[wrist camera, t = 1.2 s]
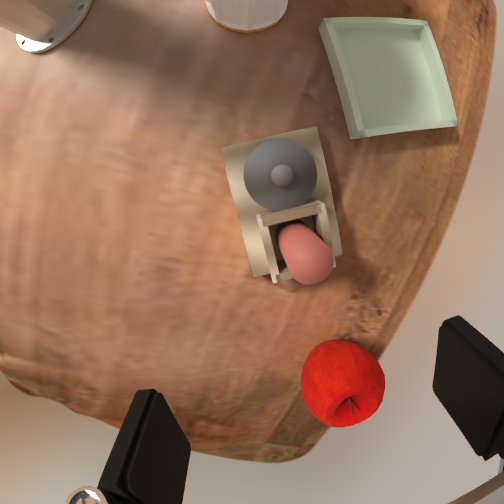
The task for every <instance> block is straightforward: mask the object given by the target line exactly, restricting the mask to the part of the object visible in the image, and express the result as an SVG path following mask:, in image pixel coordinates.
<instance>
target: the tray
mask: <svg viewBox="0 0 504 504" xmlns="http://www.w3.org/2000/svg"><path fill="white" fill-rule="evenodd" d="M318 30H319V33H320V36H321V38H322V41H323V44H324V47H325V50H326V53H327V56H328V60H329V63H330V66H331V69H332V73H333V76H334V79H335V83H336V86H337V90H338V93H339V97H340V101H341V104H342V108H343V112H344V116H345V120H346V124H347V128H348V132H349V136H350V140H351V139H358V138H364V137H370V136H377V135H384V134H391V133H398V132H406V131H414V130H423V129H432V128H443V127H454V126H458V123H457V118H456V114H455V109H454V105H453V101H452V97H451V93H450V89H449V85H448V82H447V78H446V75H445V71H444V68H443V65H442V61H441V58H440V55H439V52H438V49H437V46H436V44H435V41H434V38H433V35H432V33H431V30H430V28H429V25H428V23H427V21H425V20H416V19H404V18H388V17H335V18H323V20H322V22H321V23H320V25H319V26H318Z"/></svg>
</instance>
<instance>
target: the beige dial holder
mask: <svg viewBox="0 0 504 504" xmlns="http://www.w3.org/2000/svg"><path fill="white" fill-rule="evenodd" d="M220 151H221V155H222V158H223V162H224V166H225V170H226V174H227V177H228V181H229V185H230V189H231V193H232V196H233V200H234V204H235V208H236V211H237V215H238V219H239V223H240V227H241V230H242V234H243V238H244V242H245V245H246V249H247V253H248V257H249V260H250V264H251V268H252V272H253V275H254V277H258V276H262V275H266V274H271V278H272V282H273V283H277V282H281V281H284V280H288V279H292V278H293V277H292V275H291V274H290V271H289V269H288V267H287V264H286V262H285V260H284V258H283V255H282V253H281V251H280V248H279V246H278V244H277V241H276V236H275V235H276V230H277V228H278V226H279V225H280V224H281V223H282V222H286V221H290V220H294V219H299V220H301V221H303V222H304V223H305V224H306V225H307V226H308V227H309V228H310V229H311V230H312V231H313V232H314V233H315V234H316V235H317V236H318V237H319V238H320V239H321V240H322V241H323V242H324V243H325V244H326V245H327V246H328V247H329V248H330V250H331V251H332V254H333V257H334V264H333V268H334V267H336V263H335V257H336V256H340V255H343V253H342V247H341V241H340V235H339V229H338V223H337V218H336V212H335V207H334V202H333V197H332V192H331V187H330V182H329V177H328V172H327V168H326V163H325V159H324V154H323V150H322V146H321V142H320V138H319V133H318V129H317V126H315V127H310V128H305V129H300V130H294V131H290V132H285V133H280V134H275V135H271V136H266V137H262V138H258V139H253V140H249V141H245V142H241V143H237V144H233V145H229V146H225V147H222V148H220Z"/></svg>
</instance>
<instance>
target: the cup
mask: <svg viewBox="0 0 504 504" xmlns="http://www.w3.org/2000/svg"><path fill="white" fill-rule="evenodd" d="M206 4H207V8H208V12H209V14H210V16H211V17H212V18H213V20H214V21H215V22H216V23H217V24H218V25H220V26H222V27H224V28H226V29H229V30H231V31H236V32H243V33H251V32H258V31H263V30H265V29H267V28H270V27H272V26H274V25H276V24H277V23H278V22H279V21H280V19H281V18H282V17H283V15H284V14H285V11H286V8H287V4H288V0H206Z"/></svg>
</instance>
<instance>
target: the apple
mask: <svg viewBox="0 0 504 504" xmlns="http://www.w3.org/2000/svg"><path fill="white" fill-rule="evenodd" d="M301 389H302V396H303V402H304V403H305V405H306V407H307V408H308V410H309V411H310V413H311V414H312V415H313V416H315V417H316V418H317V419H319V420H320V421H322V422H323V423H325V424H326V425H328V426H331V427H346V426H351V425H354V424H357V423H360V422H362V421H364V420H365V419H367V418H369V417H370V416H371V415H372V414H374V412H376V410H377V409H378V408H379V406H380V404H381V402H382V399H383V395H384V390H385V377H384V373H383V371H382V368H381V367H380V365H379V362H378V360H377V359H376V358H375V357H374V356H373V355H372V354H370V353H369V352H368V351H366V350H365V349H364V348H362V347H361V346H359V345H357V344H355V343H352V342H349V341H344V340H328V341H325V342H322V343H321V344H319V345H318V346H316V347H315V348H314V349H313V350H312V351H311V352H310V354H309V355H308V357H307V359H306V361H305V363H304V366H303V370H302V374H301Z"/></svg>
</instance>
